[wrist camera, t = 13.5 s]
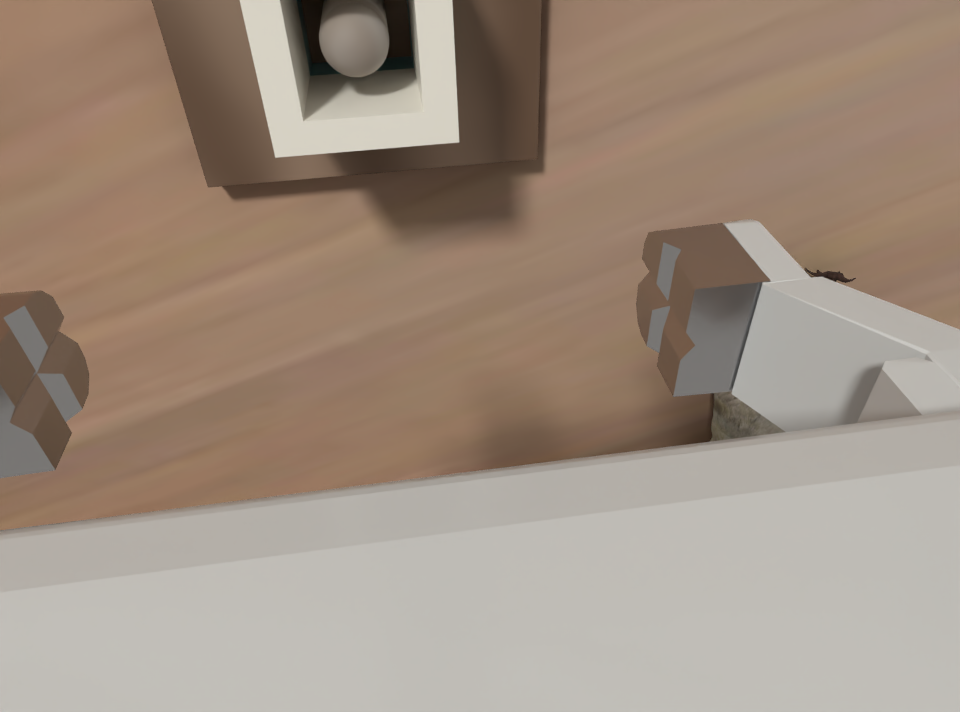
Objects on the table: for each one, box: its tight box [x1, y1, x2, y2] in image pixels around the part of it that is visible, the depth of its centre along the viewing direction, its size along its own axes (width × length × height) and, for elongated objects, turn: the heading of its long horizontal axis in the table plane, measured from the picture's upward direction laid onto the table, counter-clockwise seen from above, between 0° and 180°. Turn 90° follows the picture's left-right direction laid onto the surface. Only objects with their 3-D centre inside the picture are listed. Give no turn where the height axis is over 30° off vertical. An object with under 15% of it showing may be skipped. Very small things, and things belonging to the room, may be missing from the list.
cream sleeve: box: [240, 0, 459, 158], centre depth 23 cm, size 6×6×6 cm
